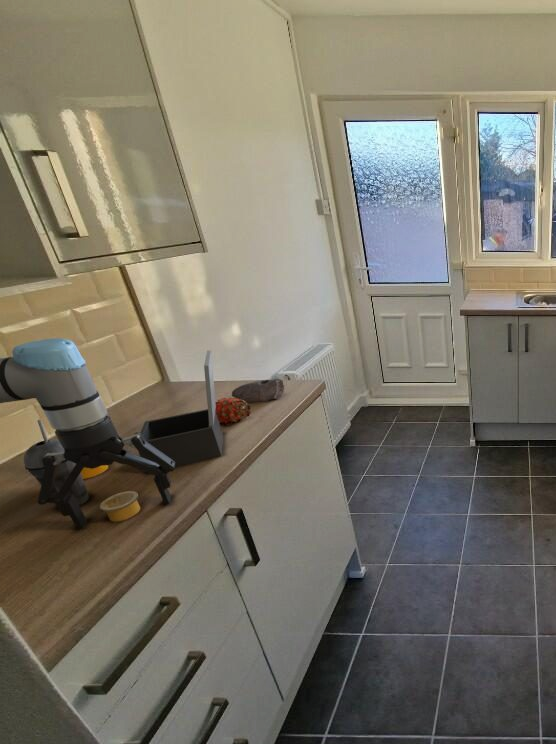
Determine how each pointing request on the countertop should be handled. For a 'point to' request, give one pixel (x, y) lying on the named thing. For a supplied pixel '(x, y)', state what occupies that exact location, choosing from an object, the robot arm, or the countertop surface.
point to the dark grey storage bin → (184, 437)
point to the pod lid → (210, 387)
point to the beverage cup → (64, 468)
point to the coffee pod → (121, 506)
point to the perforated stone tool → (260, 391)
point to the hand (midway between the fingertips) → (127, 512)
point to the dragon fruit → (231, 410)
